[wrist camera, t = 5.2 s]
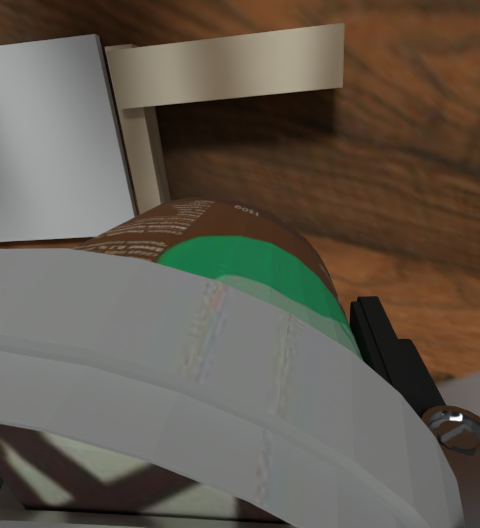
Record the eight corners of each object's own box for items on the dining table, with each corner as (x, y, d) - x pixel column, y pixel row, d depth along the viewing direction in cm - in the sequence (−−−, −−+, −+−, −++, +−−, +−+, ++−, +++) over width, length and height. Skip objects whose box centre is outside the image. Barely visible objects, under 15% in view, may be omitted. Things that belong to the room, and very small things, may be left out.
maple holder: (335, 26, 21) (344, 15, 18) (330, 324, 30) (335, 346, 27) (120, 51, 23) (99, 45, 20) (175, 327, 31) (165, 349, 29)
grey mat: (99, 35, 22) (94, 34, 22) (141, 231, 28) (138, 234, 27) (-86, 58, 24) (-94, 57, 23) (-12, 240, 29) (-18, 242, 29)
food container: (388, 407, 15) (531, 856, 6) (249, 422, 17) (204, 808, 8) (336, 102, 11) (612, 155, 2) (148, 159, 12) (-277, 362, 3)
